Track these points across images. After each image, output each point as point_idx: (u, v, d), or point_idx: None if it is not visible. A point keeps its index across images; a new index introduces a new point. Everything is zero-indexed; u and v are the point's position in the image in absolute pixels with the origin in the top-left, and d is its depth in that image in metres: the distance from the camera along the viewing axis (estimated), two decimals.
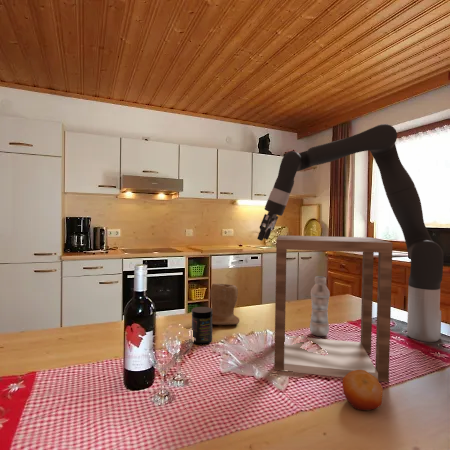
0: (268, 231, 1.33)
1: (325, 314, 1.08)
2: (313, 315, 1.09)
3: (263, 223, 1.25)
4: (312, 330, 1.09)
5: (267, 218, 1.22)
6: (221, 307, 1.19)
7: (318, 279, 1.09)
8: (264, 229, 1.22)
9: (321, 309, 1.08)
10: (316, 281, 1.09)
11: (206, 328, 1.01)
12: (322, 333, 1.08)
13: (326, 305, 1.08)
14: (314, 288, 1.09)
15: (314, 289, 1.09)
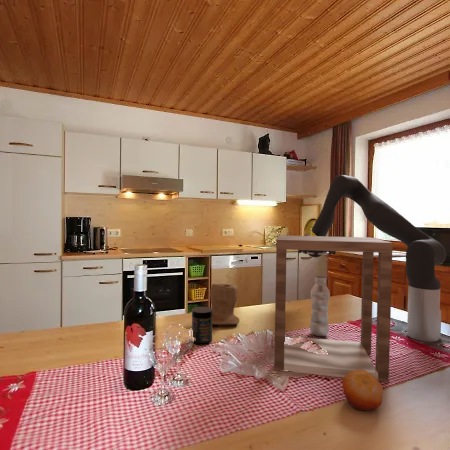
0: None
1: (325, 314, 1.08)
2: (313, 315, 1.09)
3: None
4: (312, 330, 1.09)
5: None
6: (221, 307, 1.19)
7: (318, 279, 1.09)
8: None
9: (321, 309, 1.08)
10: (316, 281, 1.09)
11: (206, 328, 1.01)
12: (322, 333, 1.08)
13: (326, 305, 1.08)
14: (314, 288, 1.09)
15: (314, 289, 1.09)
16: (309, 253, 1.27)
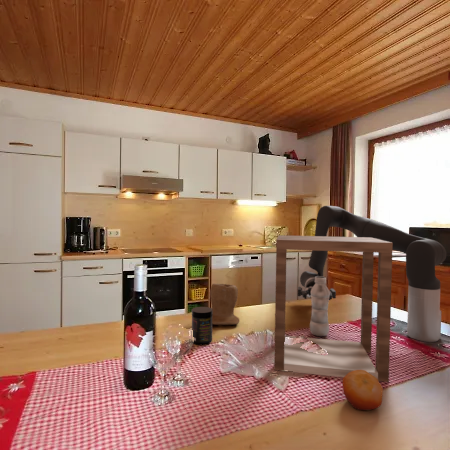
0: None
1: (325, 314, 1.08)
2: (313, 315, 1.09)
3: None
4: (312, 330, 1.09)
5: None
6: (221, 307, 1.19)
7: (318, 279, 1.09)
8: None
9: (321, 309, 1.08)
10: (316, 281, 1.09)
11: (206, 328, 1.01)
12: (322, 333, 1.08)
13: (326, 305, 1.08)
14: (314, 288, 1.09)
15: (314, 289, 1.09)
16: (309, 296, 1.26)
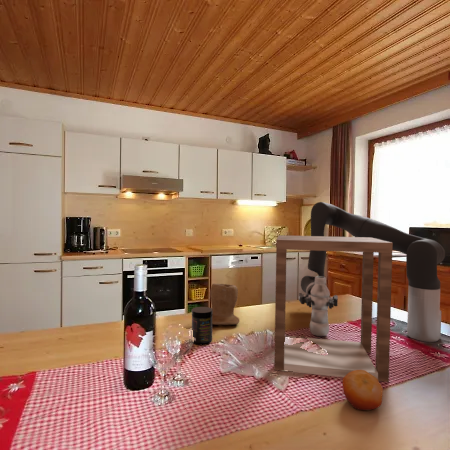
0: (328, 302, 1.11)
1: (325, 314, 1.08)
2: (313, 315, 1.09)
3: None
4: (312, 330, 1.09)
5: (299, 296, 1.18)
6: (221, 307, 1.19)
7: (318, 279, 1.09)
8: (301, 297, 1.14)
9: (321, 309, 1.08)
10: (316, 281, 1.09)
11: (206, 328, 1.01)
12: (322, 333, 1.08)
13: (326, 305, 1.08)
14: (314, 288, 1.09)
15: (314, 289, 1.09)
16: None
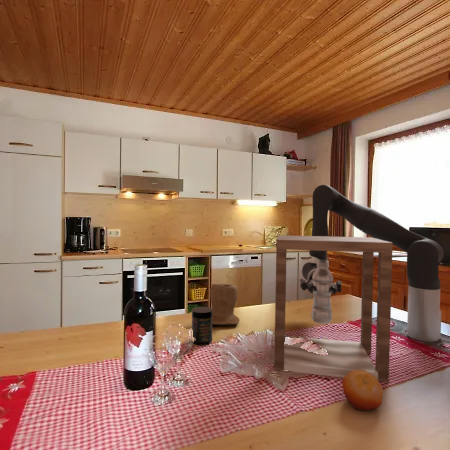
0: (331, 288, 1.03)
1: (328, 300, 1.00)
2: (315, 301, 1.02)
3: None
4: (314, 317, 1.01)
5: (300, 282, 1.10)
6: (221, 307, 1.19)
7: (320, 263, 1.01)
8: (302, 283, 1.06)
9: (323, 295, 1.00)
10: (318, 265, 1.01)
11: (206, 328, 1.01)
12: (325, 320, 1.00)
13: (329, 291, 1.00)
14: (316, 272, 1.02)
15: (316, 273, 1.01)
16: None
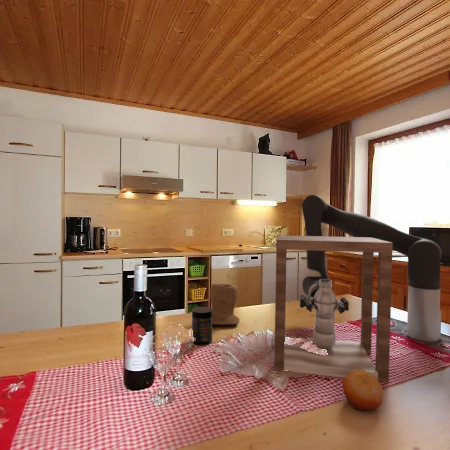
0: (338, 306, 0.95)
1: (331, 324, 0.93)
2: (317, 325, 0.94)
3: None
4: (316, 342, 0.94)
5: None
6: (221, 307, 1.19)
7: (323, 283, 0.93)
8: (300, 300, 0.99)
9: (326, 318, 0.92)
10: (321, 285, 0.93)
11: (206, 328, 1.01)
12: (328, 346, 0.92)
13: (332, 313, 0.92)
14: (318, 293, 0.94)
15: (318, 294, 0.93)
16: (314, 307, 0.99)
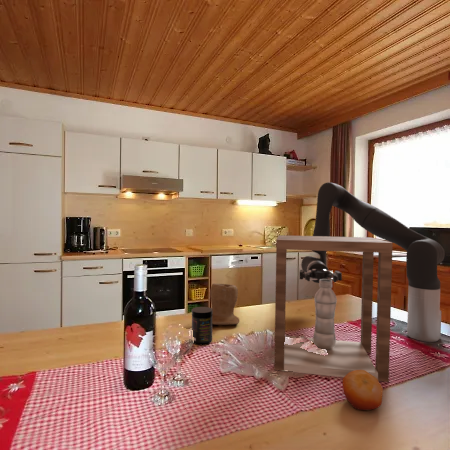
0: None
1: (331, 323, 0.93)
2: (317, 325, 0.94)
3: None
4: (316, 342, 0.94)
5: None
6: (221, 307, 1.19)
7: (323, 283, 0.93)
8: None
9: (326, 318, 0.92)
10: (321, 285, 0.94)
11: (206, 328, 1.01)
12: (328, 346, 0.92)
13: (332, 313, 0.93)
14: (318, 293, 0.94)
15: (318, 294, 0.93)
16: (312, 279, 1.14)
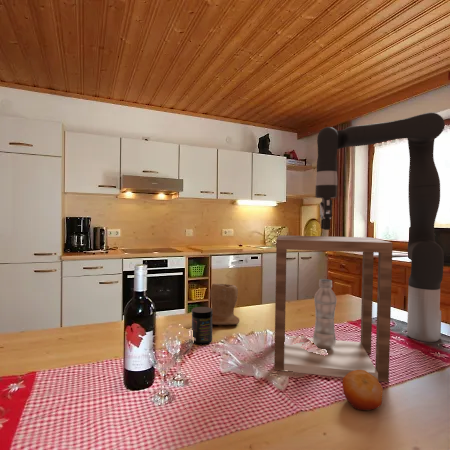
0: None
1: (331, 323, 0.93)
2: (317, 325, 0.94)
3: (323, 211, 1.14)
4: (316, 342, 0.94)
5: (329, 203, 1.10)
6: (221, 307, 1.19)
7: (323, 283, 0.93)
8: (330, 215, 1.10)
9: (326, 318, 0.92)
10: (321, 285, 0.94)
11: (206, 328, 1.01)
12: (328, 346, 0.92)
13: (332, 313, 0.93)
14: (318, 293, 0.94)
15: (318, 294, 0.93)
16: (322, 212, 1.15)
